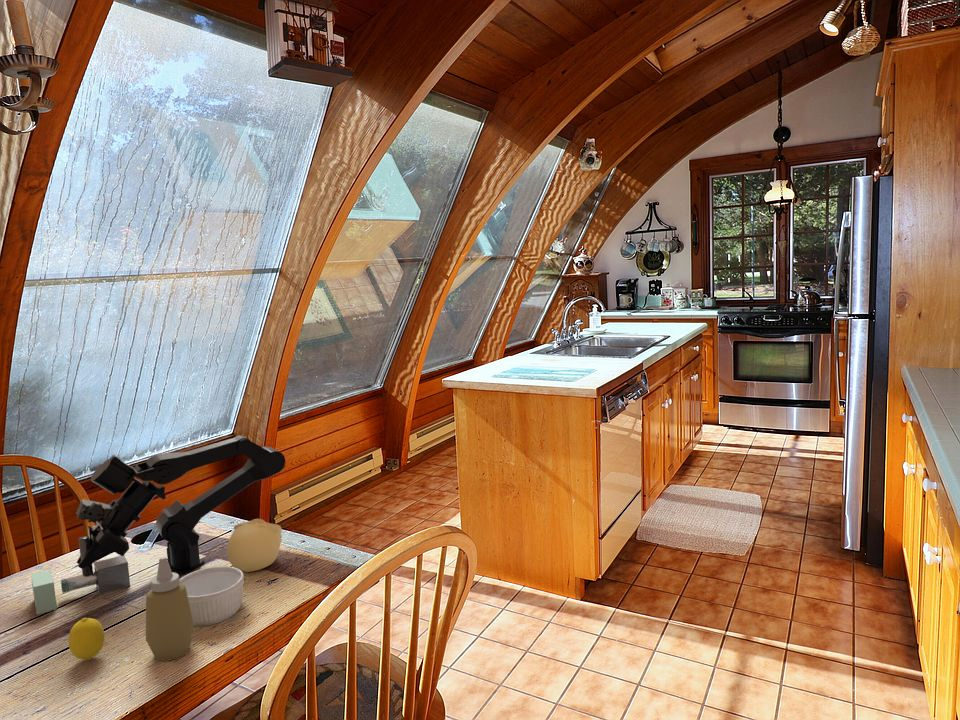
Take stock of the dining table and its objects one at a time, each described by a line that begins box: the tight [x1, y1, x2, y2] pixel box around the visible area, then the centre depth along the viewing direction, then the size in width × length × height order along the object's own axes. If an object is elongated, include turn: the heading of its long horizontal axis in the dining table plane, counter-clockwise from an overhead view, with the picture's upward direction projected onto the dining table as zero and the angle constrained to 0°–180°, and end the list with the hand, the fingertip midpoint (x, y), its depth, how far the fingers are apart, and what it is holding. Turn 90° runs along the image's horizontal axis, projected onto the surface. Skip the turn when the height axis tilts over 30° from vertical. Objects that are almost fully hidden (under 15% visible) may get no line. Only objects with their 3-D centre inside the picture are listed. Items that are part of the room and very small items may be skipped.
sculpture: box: [226, 518, 283, 573], centre depth 156 cm, size 11×12×11 cm
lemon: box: [68, 617, 106, 661], centre depth 119 cm, size 6×6×8 cm
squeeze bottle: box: [145, 556, 195, 662], centre depth 120 cm, size 8×8×18 cm
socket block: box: [30, 568, 58, 615], centre depth 140 cm, size 4×8×6 cm, turn 37°
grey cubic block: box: [93, 555, 131, 595], centre depth 148 cm, size 6×5×6 cm
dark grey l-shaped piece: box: [60, 535, 98, 594], centre depth 145 cm, size 12×3×11 cm, turn 127°
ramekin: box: [179, 565, 245, 627], centre depth 135 cm, size 13×13×7 cm
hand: (79, 565), depth 144 cm, fingers closed on dark grey l-shaped piece, 2 cm apart
